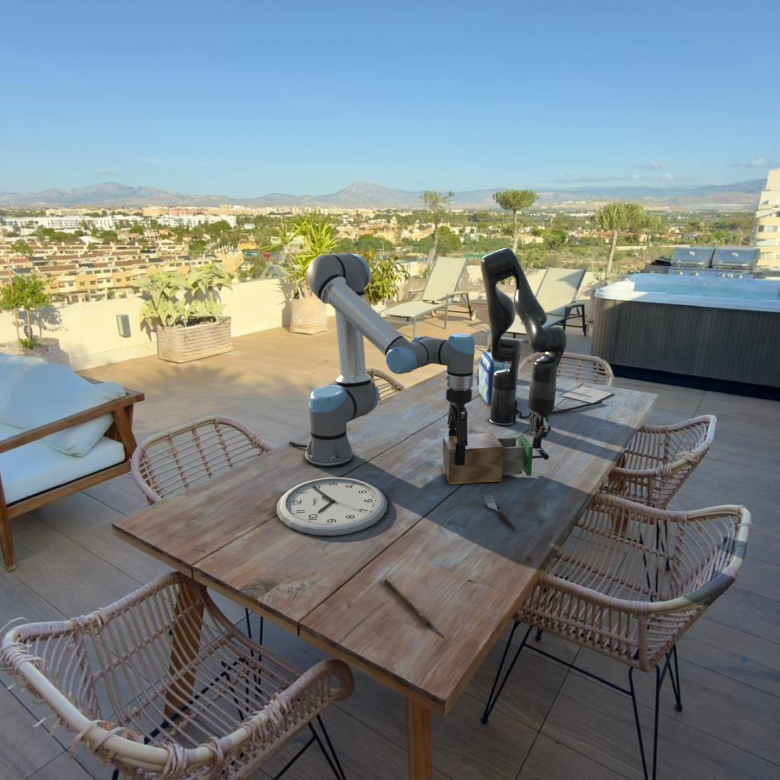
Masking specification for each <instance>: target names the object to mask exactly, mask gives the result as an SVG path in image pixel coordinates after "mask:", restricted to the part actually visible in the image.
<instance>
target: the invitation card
mask: <svg viewBox="0 0 780 780" xmlns="http://www.w3.org/2000/svg"><path fill="white" fill-rule="evenodd" d="M611 395H613V392H611V391H610V392H609V391H605V390H601V389H597V388H592V387H588V386H583V385H582V386H580V387H577V388H575V389H572V390H570V391H568V392H565V393H563V394H561V395H560V396H561V397H565V398H570V399H573V400H577V401H581V402H585V403H588V404H589V403H594V402H599V401H602V400H603V399H605V398H607V397H609V396H611Z"/></svg>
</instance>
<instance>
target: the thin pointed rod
mask: <svg viewBox="0 0 780 780" xmlns="http://www.w3.org/2000/svg"><path fill="white" fill-rule="evenodd" d="M383 583H384V585H385V586H386V587H387V588H388V589H389V590H390V591H391V592H392V593H394V595H395V596H397V598H398V599H399V600H401V601H402V603H403V604H404V605H405V606H406V607H407V608H408V609H409V610H410V611H411V612H412V613H413V614H414V615H415V616H416V617H417V618H418V619H419V620H420V621H421V622H422V623H423V624H424V625H425V626H426V627H427V626H428V625H429V620H428V619H427V618H426V617H425V616H424V615H423V614H422V613H421V612H420V611H419V610H418V609H417V608H416V607H415V606H414V605H413V604H412V603H411V602H410V601H409V600H408V599H407V598H406V597H405V596H404V595H403V594H402V593H401V592H400V591H399V590H398V589H397V588H396V587H395V586H394V585H393V584H392V583H391V582H390V581H389V580H388V579H386V578H384V581H383Z"/></svg>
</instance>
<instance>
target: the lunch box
mask: <svg viewBox="0 0 780 780" xmlns="http://www.w3.org/2000/svg"><path fill="white" fill-rule="evenodd" d="M509 366H510V365H509V363H501V362H496V361H494V360H493V359H492V356H491V352H487V351H482V352H481V354H480V358H479V360H478V369H479V377H478V378H477V381H476V384H477V385H476V386H478V393H479V395H480V396H481V397H482V399H483V400H484V402H485V404H487V405H488V406H489V405H490V406H491V398H492V385H493V374H494V372H495V371H497V370H501V369H505V368H507V367H509Z"/></svg>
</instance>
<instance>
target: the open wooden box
mask: <svg viewBox="0 0 780 780" xmlns="http://www.w3.org/2000/svg"><path fill="white" fill-rule="evenodd" d="M497 438H498V437H497V436H496V435H495V433H494V432H490V433H472V434H471V433H470V434H467V440H468V445H467V446H465V463H464V465H455V451H456V446H455V445H454V444H455V443H457V437H456V435H452V436H448V435H442V471H443V473H444V476H445V479H446V481H447V483H448V485H462V484H478V483H479V484H481V483H493V482H494V483H496V482H502V481H503V478H502V477H503V475H502V457H503V446H502V445H501V443H500V442H499V440H498V439H497Z"/></svg>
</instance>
